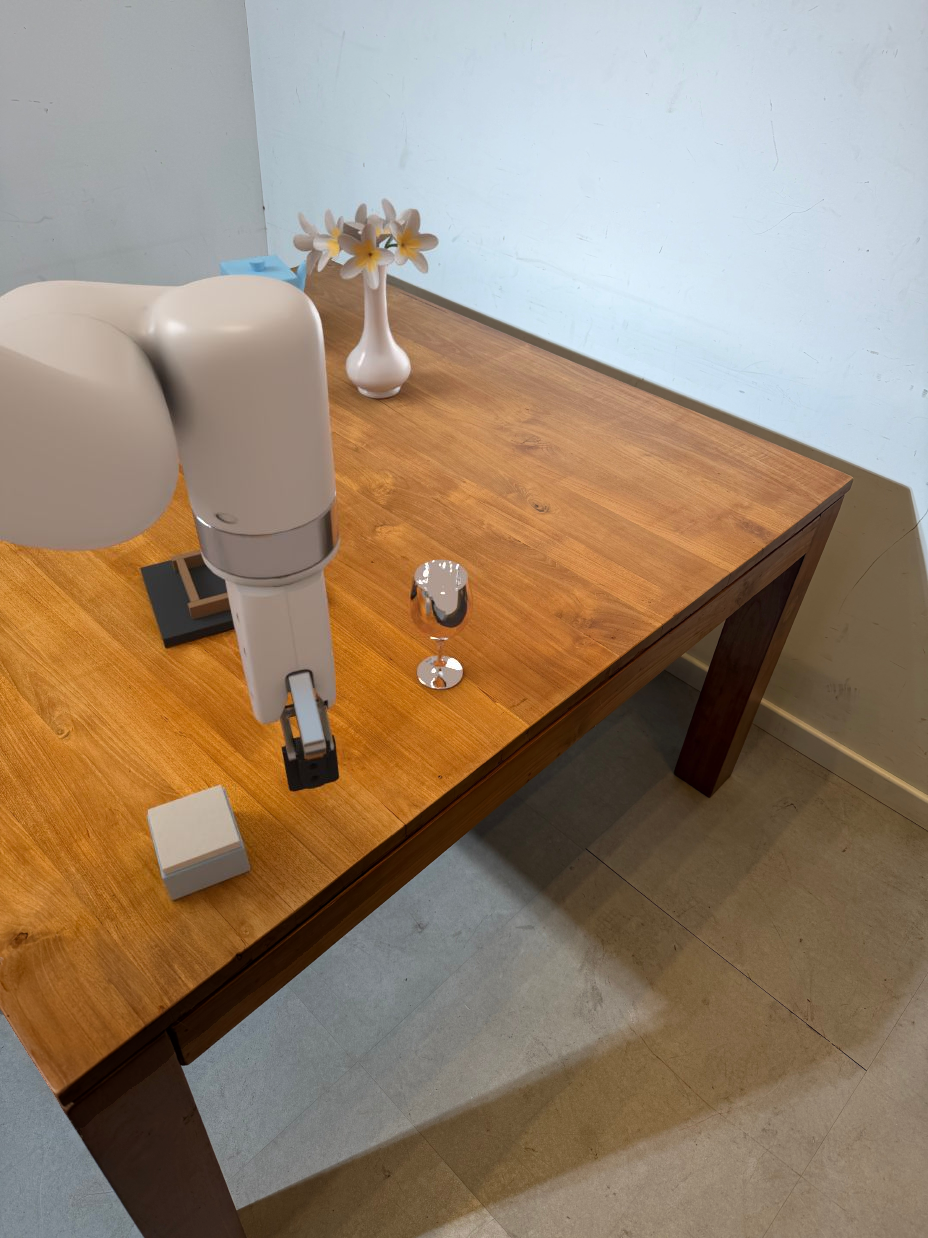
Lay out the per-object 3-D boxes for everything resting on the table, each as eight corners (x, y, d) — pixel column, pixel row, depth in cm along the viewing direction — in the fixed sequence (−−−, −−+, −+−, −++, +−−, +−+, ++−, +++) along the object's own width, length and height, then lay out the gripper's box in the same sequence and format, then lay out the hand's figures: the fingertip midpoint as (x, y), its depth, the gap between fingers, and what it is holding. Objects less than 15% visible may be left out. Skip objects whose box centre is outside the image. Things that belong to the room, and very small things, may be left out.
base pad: (165, 648, 81) (159, 627, 79) (142, 576, 89) (136, 555, 87) (322, 603, 87) (319, 583, 85) (287, 539, 94) (284, 519, 93)
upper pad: (171, 901, 62) (159, 873, 59) (155, 837, 66) (144, 808, 63) (251, 870, 64) (243, 842, 61) (231, 810, 68) (222, 781, 65)
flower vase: (319, 366, 126) (302, 186, 109) (441, 372, 125) (443, 193, 108) (302, 408, 116) (280, 218, 99) (433, 415, 116) (434, 226, 99)
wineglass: (417, 699, 77) (416, 603, 69) (403, 656, 81) (401, 560, 73) (476, 688, 78) (482, 592, 70) (460, 646, 83) (464, 551, 74)
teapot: (201, 321, 136) (188, 249, 128) (306, 303, 143) (299, 234, 135) (230, 361, 126) (217, 286, 118) (341, 340, 132) (336, 267, 125)
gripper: (181, 450, 50) (226, 652, 61) (217, 643, 38) (264, 848, 50) (305, 432, 52) (326, 631, 63) (376, 611, 40) (386, 816, 52)
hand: (299, 726), depth 57 cm, fingers open, 9 cm apart
